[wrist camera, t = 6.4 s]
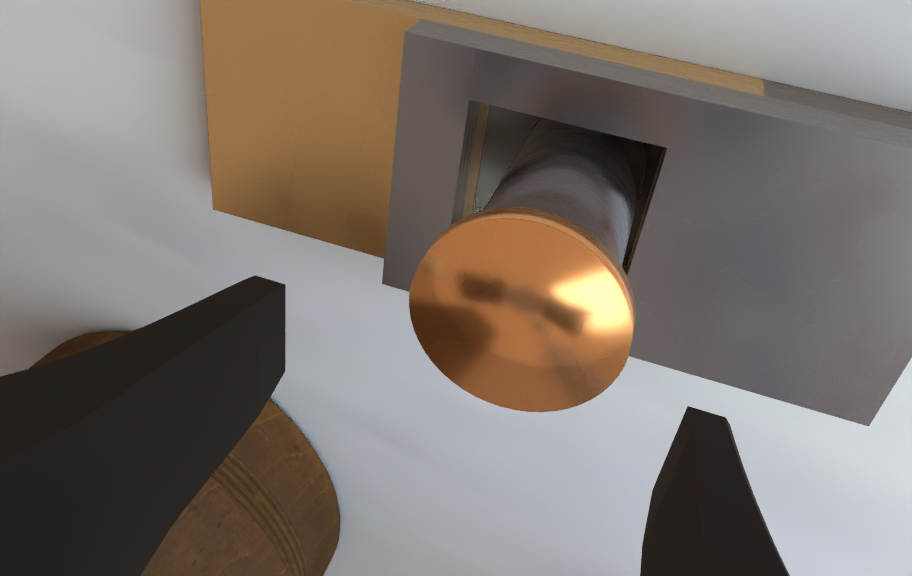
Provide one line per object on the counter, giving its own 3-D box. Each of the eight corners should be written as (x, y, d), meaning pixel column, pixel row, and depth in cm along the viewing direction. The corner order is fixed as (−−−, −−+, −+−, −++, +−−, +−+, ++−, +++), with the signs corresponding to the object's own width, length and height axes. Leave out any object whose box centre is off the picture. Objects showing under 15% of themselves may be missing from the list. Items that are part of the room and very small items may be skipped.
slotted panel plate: (857, 367, 21) (868, 426, 19) (233, 192, 24) (190, 227, 22) (992, 130, 17) (1024, 175, 15) (223, -42, 20) (169, -23, 18)
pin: (644, 248, 21) (604, 436, 15) (496, 212, 22) (402, 377, 16) (686, 102, 19) (658, 256, 13) (519, 68, 19) (417, 197, 13)
